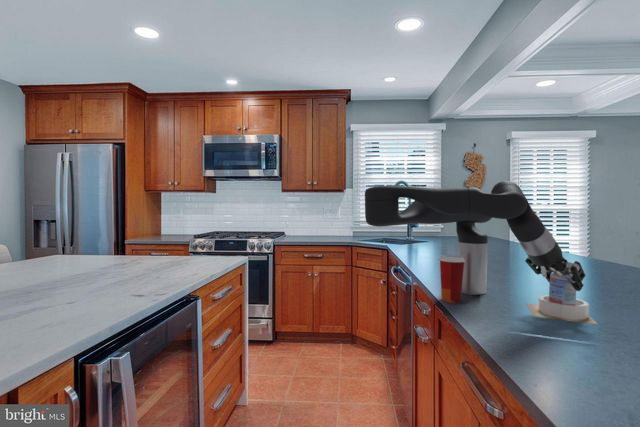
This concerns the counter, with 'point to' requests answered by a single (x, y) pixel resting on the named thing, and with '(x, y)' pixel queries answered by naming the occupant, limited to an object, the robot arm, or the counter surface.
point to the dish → (564, 309)
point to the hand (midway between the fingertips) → (566, 285)
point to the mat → (537, 313)
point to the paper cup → (451, 277)
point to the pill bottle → (561, 290)
